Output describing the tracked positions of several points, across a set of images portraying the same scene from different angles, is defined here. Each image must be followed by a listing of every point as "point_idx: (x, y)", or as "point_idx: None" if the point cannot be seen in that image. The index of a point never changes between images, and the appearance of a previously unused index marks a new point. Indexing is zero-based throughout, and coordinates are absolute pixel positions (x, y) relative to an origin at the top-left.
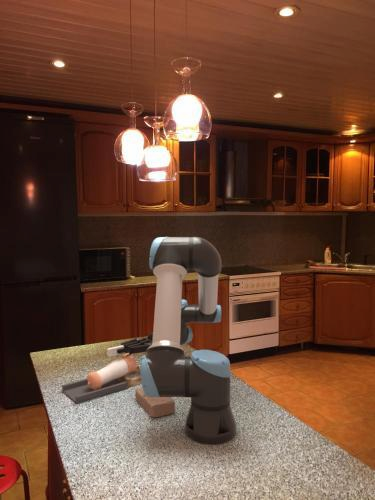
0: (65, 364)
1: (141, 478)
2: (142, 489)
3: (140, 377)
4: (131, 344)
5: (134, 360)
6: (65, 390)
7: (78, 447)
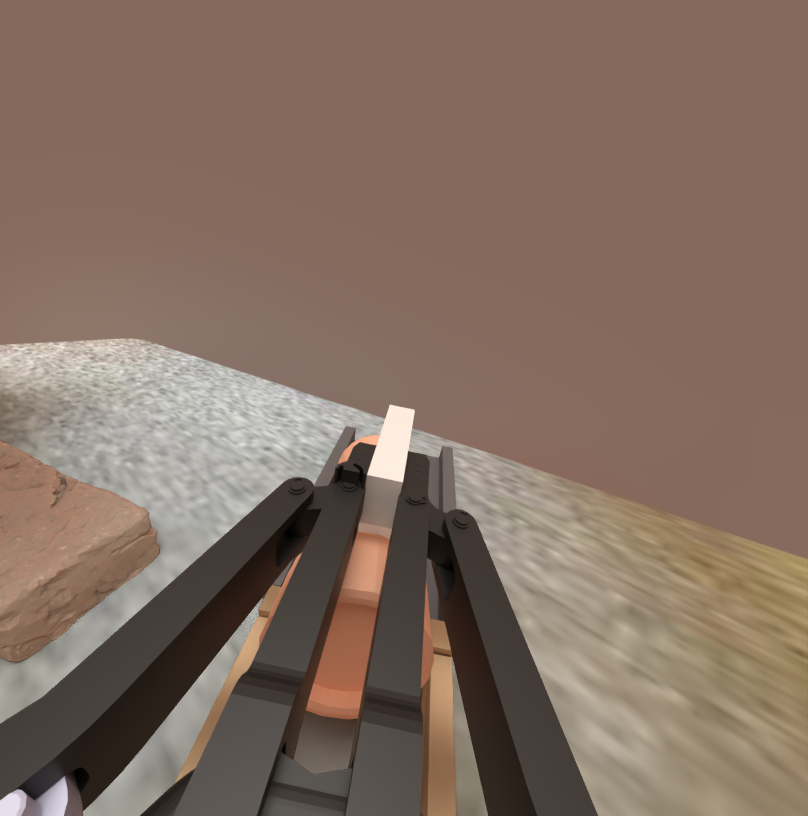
0: (735, 601)
1: (15, 358)
2: (7, 349)
3: (213, 706)
4: (383, 584)
5: (272, 613)
6: (439, 461)
7: (204, 374)
